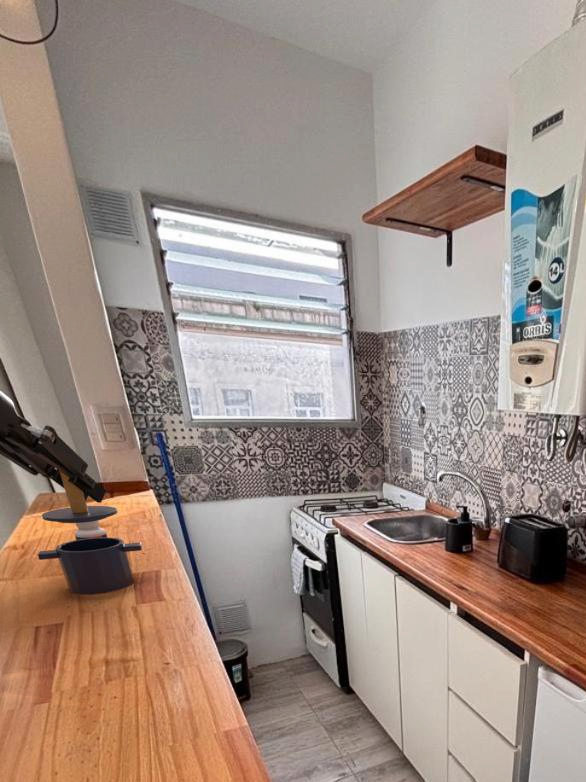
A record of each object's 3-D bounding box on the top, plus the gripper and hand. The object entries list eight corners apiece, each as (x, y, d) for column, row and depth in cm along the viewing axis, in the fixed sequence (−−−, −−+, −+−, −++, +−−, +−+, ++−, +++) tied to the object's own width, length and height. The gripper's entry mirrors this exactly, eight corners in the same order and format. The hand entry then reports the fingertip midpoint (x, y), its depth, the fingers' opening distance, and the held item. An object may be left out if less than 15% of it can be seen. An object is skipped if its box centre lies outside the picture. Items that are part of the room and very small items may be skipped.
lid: (49, 514, 95) (33, 465, 91) (120, 510, 100) (107, 463, 96) (38, 527, 86) (19, 474, 82) (116, 522, 91) (102, 471, 87)
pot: (57, 584, 99) (42, 541, 96) (151, 574, 106) (140, 534, 103) (48, 602, 91) (31, 556, 88) (150, 590, 98) (138, 546, 95)
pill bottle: (100, 568, 109) (86, 522, 104) (78, 566, 109) (63, 521, 105) (120, 561, 113) (108, 517, 109) (98, 559, 114) (85, 515, 110)
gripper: (-95, 416, 72) (48, 511, 95) (3, 420, 71) (126, 515, 93) (-71, 375, 75) (63, 477, 97) (25, 378, 73) (139, 481, 95)
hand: (94, 495), depth 95 cm, fingers closed on lid, 2 cm apart
